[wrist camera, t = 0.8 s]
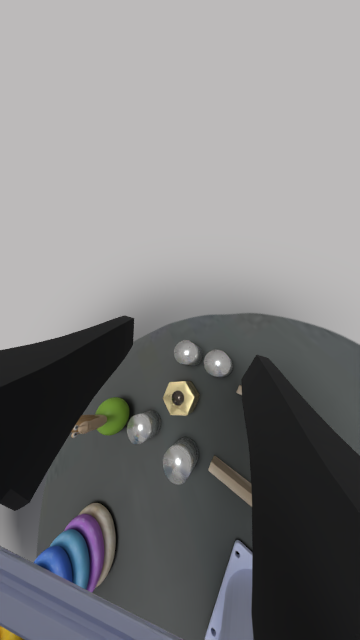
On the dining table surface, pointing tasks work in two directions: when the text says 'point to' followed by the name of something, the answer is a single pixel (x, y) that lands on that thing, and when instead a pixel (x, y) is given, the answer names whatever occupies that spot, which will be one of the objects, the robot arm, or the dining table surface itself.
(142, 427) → the cylinder
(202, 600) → the dining table surface
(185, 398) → the brass nut
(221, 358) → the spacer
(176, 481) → the cylinder
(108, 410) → the snail figurine
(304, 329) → the dining table surface
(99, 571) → the stacking toy
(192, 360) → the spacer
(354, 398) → the dining table surface
